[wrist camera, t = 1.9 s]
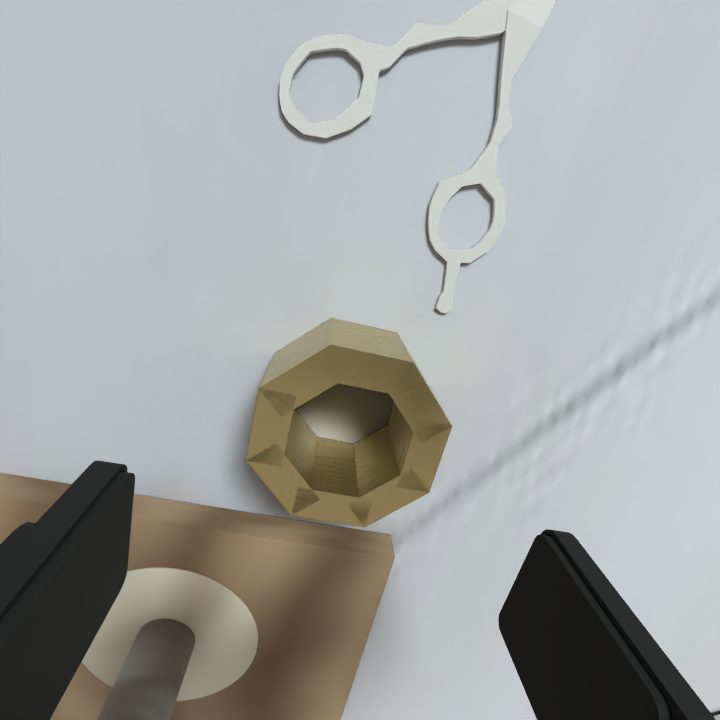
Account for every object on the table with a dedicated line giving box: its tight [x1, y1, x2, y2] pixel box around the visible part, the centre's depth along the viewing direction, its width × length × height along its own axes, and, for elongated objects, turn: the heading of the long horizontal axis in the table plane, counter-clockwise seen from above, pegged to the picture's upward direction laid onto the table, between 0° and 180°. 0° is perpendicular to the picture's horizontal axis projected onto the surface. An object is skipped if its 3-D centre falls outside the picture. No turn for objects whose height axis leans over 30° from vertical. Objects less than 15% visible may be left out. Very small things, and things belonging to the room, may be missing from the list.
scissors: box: [279, 0, 556, 313], centre depth 14 cm, size 11×1×20 cm
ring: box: [246, 318, 452, 527], centre depth 17 cm, size 7×7×4 cm
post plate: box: [0, 473, 395, 720], centre depth 19 cm, size 20×14×7 cm
